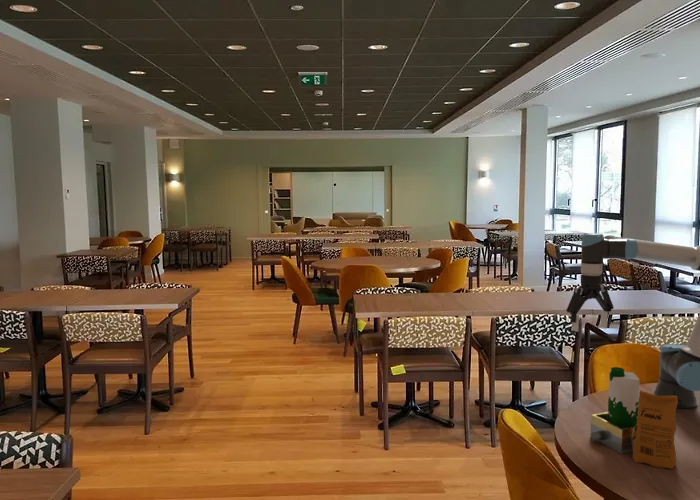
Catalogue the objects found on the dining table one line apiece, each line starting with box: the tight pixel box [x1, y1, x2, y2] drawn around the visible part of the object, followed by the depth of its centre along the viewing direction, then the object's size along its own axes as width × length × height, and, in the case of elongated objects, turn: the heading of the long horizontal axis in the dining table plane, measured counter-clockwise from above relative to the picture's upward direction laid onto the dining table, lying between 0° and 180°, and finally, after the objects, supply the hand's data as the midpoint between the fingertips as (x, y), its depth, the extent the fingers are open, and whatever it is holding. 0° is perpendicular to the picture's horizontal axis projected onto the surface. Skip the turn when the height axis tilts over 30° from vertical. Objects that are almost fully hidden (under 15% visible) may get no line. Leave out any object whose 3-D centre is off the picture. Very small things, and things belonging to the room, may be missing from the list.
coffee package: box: [632, 389, 678, 469], centre depth 187 cm, size 10×12×22 cm
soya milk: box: [607, 366, 640, 428], centre depth 200 cm, size 9×9×20 cm
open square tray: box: [590, 411, 636, 455], centre depth 201 cm, size 17×14×8 cm
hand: (589, 329), depth 228 cm, fingers open, 13 cm apart
